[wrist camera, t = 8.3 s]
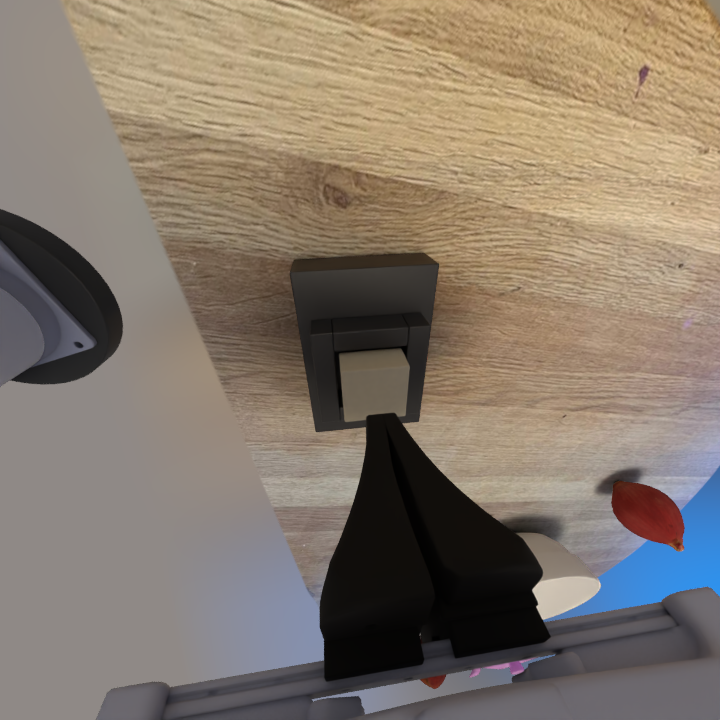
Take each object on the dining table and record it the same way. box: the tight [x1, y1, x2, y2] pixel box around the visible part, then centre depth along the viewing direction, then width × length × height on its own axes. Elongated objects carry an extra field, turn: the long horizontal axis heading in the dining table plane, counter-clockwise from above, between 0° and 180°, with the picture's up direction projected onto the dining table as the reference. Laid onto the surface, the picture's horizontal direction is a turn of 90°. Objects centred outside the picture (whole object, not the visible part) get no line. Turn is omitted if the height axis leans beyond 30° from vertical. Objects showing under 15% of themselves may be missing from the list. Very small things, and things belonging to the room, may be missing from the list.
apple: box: [420, 639, 446, 689], centre depth 64 cm, size 7×8×8 cm
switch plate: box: [290, 253, 439, 432], centre depth 18 cm, size 12×8×4 cm, turn 1°
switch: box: [339, 348, 410, 422], centre depth 16 cm, size 4×4×2 cm
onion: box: [611, 481, 684, 551], centre depth 33 cm, size 6×6×8 cm
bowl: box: [516, 533, 601, 620], centre depth 40 cm, size 18×18×7 cm
